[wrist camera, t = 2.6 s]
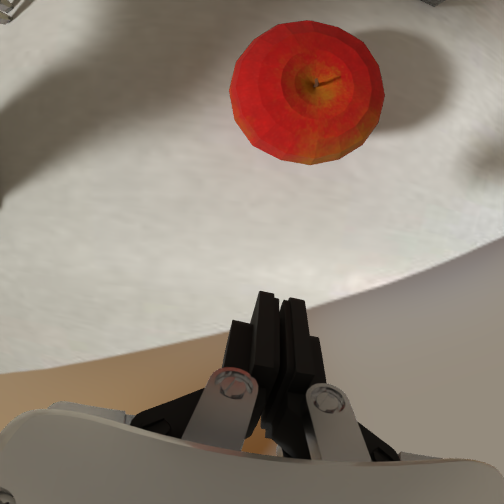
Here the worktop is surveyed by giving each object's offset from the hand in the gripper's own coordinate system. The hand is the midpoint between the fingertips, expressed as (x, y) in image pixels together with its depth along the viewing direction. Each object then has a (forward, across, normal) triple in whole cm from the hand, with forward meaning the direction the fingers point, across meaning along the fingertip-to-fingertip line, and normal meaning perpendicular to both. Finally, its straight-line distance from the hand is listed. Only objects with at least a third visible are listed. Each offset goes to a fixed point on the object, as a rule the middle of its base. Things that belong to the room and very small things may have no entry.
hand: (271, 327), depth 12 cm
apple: (+17, 0, -10) cm, 20 cm away
